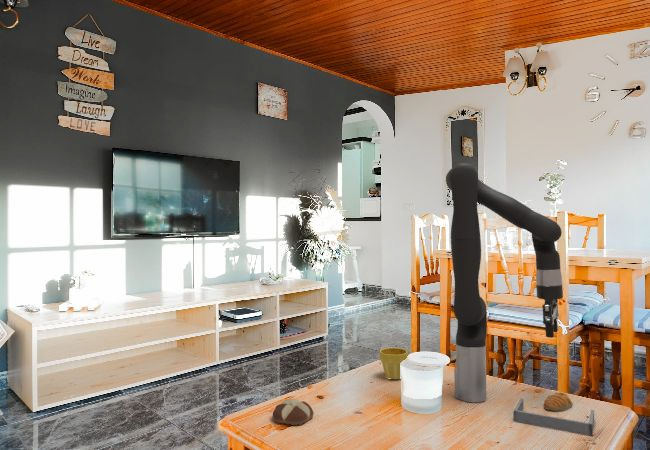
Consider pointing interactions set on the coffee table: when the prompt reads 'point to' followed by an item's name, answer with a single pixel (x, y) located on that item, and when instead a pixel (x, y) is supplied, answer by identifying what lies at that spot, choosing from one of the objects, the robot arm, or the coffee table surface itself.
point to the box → (553, 421)
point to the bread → (292, 412)
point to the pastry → (558, 402)
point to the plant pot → (392, 361)
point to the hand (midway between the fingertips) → (551, 334)
